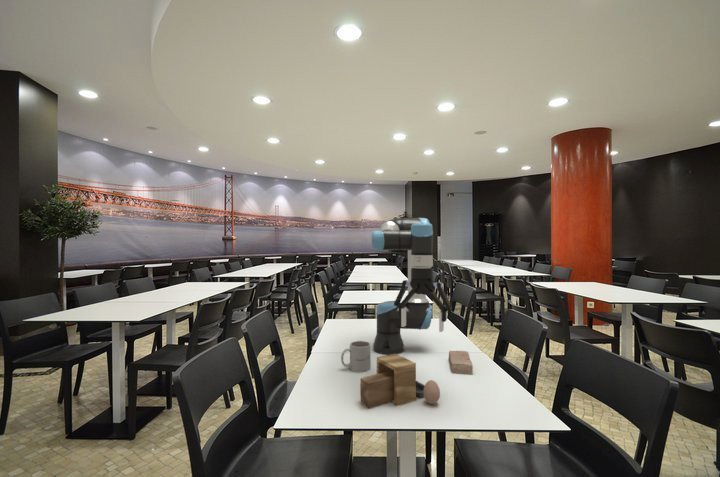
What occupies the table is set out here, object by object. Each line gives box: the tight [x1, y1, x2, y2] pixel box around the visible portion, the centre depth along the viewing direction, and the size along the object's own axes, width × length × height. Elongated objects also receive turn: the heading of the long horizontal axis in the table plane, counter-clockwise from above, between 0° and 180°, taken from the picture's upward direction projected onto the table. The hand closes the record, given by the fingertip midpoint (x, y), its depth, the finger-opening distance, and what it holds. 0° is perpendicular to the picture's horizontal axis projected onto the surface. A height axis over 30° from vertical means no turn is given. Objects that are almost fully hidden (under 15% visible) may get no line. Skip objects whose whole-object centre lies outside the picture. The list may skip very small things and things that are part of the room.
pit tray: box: [416, 380, 425, 400], centre depth 118 cm, size 11×6×2 cm, turn 31°
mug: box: [340, 340, 371, 373], centre depth 139 cm, size 12×9×10 cm
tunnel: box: [376, 354, 417, 407], centre depth 113 cm, size 11×8×12 cm
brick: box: [448, 350, 474, 376], centre depth 141 cm, size 16×8×5 cm, turn 169°
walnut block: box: [359, 370, 394, 410], centre depth 111 cm, size 5×15×8 cm, turn 121°
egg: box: [423, 379, 441, 405], centre depth 108 cm, size 5×5×7 cm
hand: (422, 328), depth 116 cm, fingers open, 13 cm apart
